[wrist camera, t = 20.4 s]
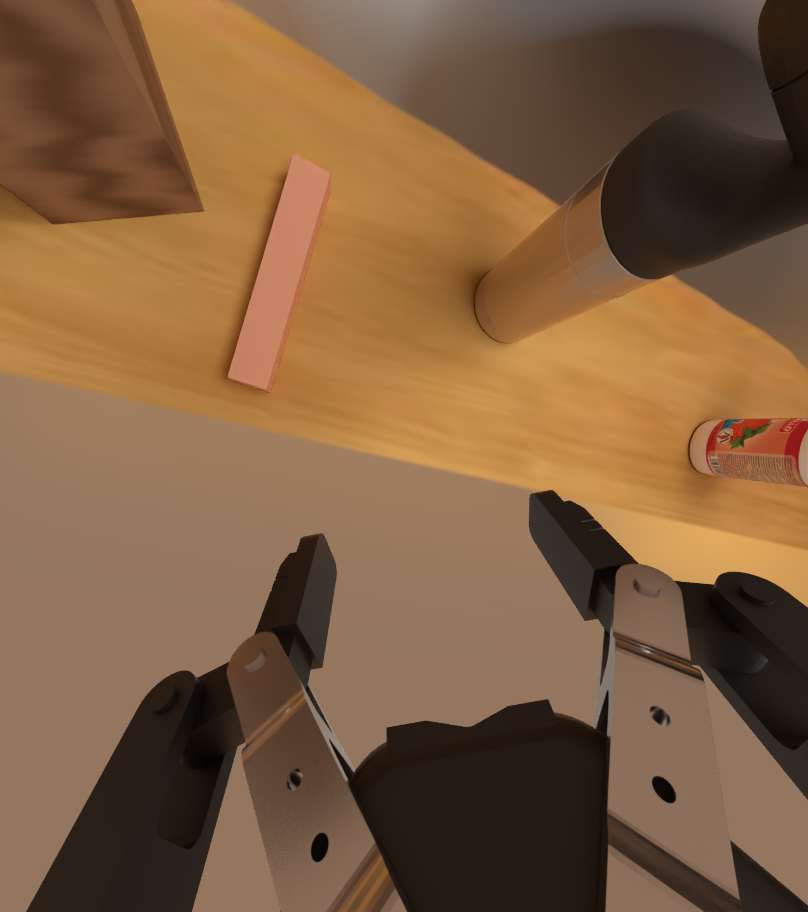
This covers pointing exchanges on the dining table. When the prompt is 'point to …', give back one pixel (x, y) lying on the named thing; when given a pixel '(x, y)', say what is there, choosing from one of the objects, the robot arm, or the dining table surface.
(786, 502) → the dining table surface
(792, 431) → the fruit juice
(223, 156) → the dining table surface
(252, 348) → the terracotta bar
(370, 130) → the dining table surface
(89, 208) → the walnut pedestal
